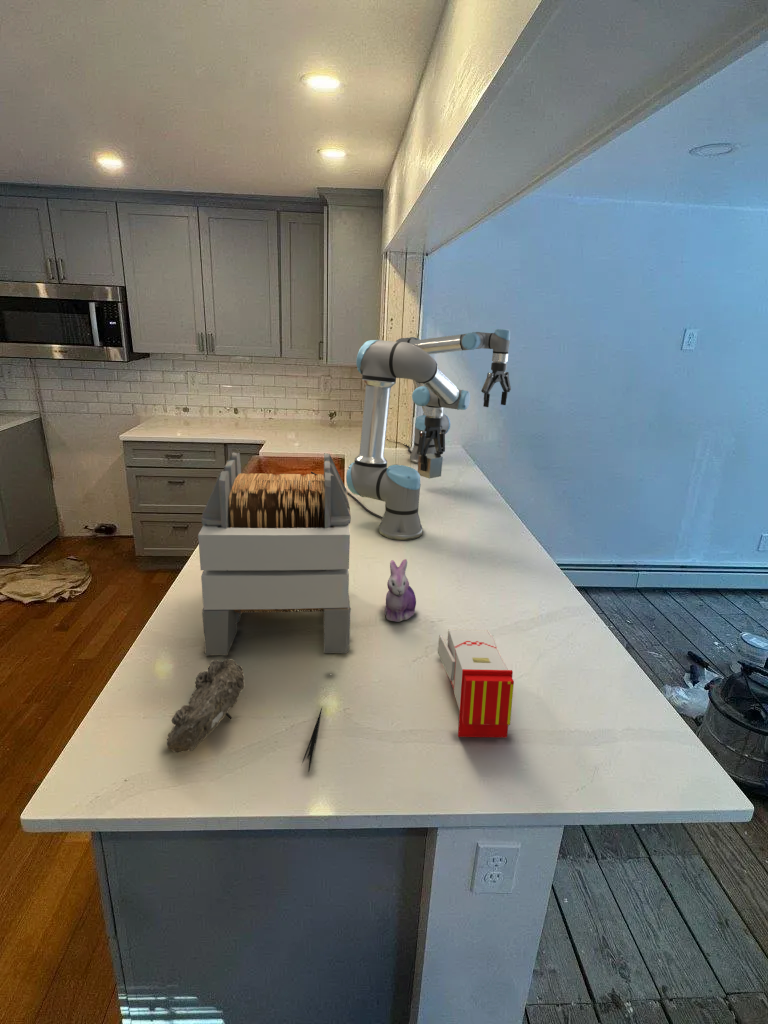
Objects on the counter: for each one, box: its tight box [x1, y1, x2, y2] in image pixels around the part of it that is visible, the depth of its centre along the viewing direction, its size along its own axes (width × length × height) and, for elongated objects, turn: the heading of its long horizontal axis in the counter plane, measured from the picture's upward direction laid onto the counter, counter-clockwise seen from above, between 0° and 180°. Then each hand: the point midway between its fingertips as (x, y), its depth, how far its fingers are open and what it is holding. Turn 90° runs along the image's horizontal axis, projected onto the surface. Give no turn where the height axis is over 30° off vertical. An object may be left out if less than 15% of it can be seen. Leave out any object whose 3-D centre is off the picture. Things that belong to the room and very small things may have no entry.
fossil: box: [166, 658, 245, 754], centre depth 106 cm, size 22×10×15 cm
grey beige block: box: [417, 453, 444, 480], centre depth 245 cm, size 8×7×9 cm
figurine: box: [384, 558, 417, 623], centre depth 145 cm, size 9×10×15 cm
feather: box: [301, 673, 332, 771], centre depth 108 cm, size 2×28×2 cm
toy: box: [437, 628, 515, 738], centre depth 117 cm, size 12×13×30 cm
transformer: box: [197, 451, 352, 657], centre depth 136 cm, size 34×33×41 cm
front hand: (429, 469), depth 246 cm, fingers closed on grey beige block, 7 cm apart
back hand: (494, 405), depth 285 cm, fingers open, 13 cm apart
